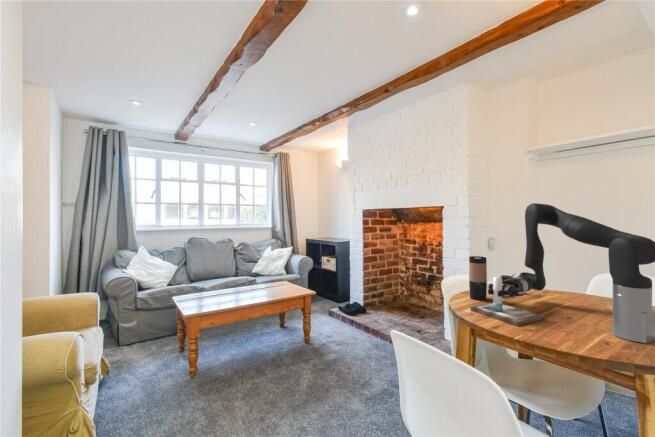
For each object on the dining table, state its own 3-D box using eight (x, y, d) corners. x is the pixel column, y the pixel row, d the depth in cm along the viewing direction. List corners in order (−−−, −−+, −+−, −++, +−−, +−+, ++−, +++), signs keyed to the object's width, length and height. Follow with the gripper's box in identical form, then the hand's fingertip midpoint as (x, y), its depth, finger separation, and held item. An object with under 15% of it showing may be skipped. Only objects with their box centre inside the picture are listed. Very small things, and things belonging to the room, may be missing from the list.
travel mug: (488, 298, 147) (488, 257, 147) (484, 301, 142) (483, 259, 141) (472, 295, 153) (472, 255, 152) (467, 298, 147) (466, 257, 147)
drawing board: (543, 319, 118) (543, 314, 118) (516, 326, 112) (516, 321, 112) (496, 305, 136) (496, 301, 136) (470, 310, 130) (470, 306, 130)
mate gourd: (499, 288, 164) (499, 270, 164) (516, 290, 160) (516, 272, 159) (497, 291, 158) (497, 272, 158) (514, 294, 154) (514, 274, 154)
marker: (504, 309, 123) (504, 277, 123) (498, 311, 122) (498, 278, 121) (496, 307, 126) (496, 276, 126) (491, 308, 125) (490, 277, 124)
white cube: (500, 295, 152) (500, 283, 152) (492, 296, 150) (492, 284, 150) (490, 292, 158) (490, 280, 158) (481, 293, 156) (481, 282, 156)
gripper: (497, 275, 137) (476, 280, 128) (532, 280, 126) (512, 287, 116) (498, 291, 138) (477, 298, 128) (532, 298, 126) (512, 306, 116)
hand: (494, 293), depth 122 cm, fingers closed on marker, 3 cm apart
